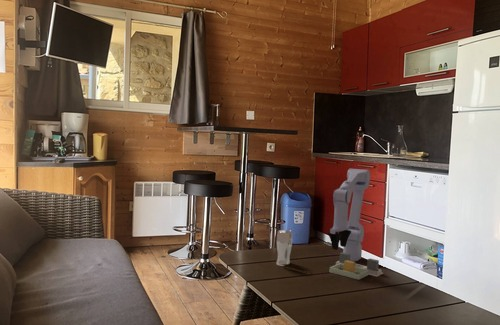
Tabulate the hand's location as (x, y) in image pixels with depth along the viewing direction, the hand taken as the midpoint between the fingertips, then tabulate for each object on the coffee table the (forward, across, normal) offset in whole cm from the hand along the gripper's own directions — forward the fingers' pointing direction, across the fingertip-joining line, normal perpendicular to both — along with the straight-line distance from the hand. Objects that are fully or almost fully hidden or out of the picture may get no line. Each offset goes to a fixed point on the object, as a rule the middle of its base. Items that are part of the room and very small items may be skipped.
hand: (339, 247), depth 181 cm
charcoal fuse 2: (+9, +5, -14) cm, 17 cm away
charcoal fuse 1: (+9, +5, -1) cm, 10 cm away
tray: (+10, -4, -7) cm, 13 cm away
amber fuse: (+9, -4, -7) cm, 12 cm away
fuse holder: (+10, +5, -7) cm, 13 cm away
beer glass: (+10, -11, +21) cm, 26 cm away
